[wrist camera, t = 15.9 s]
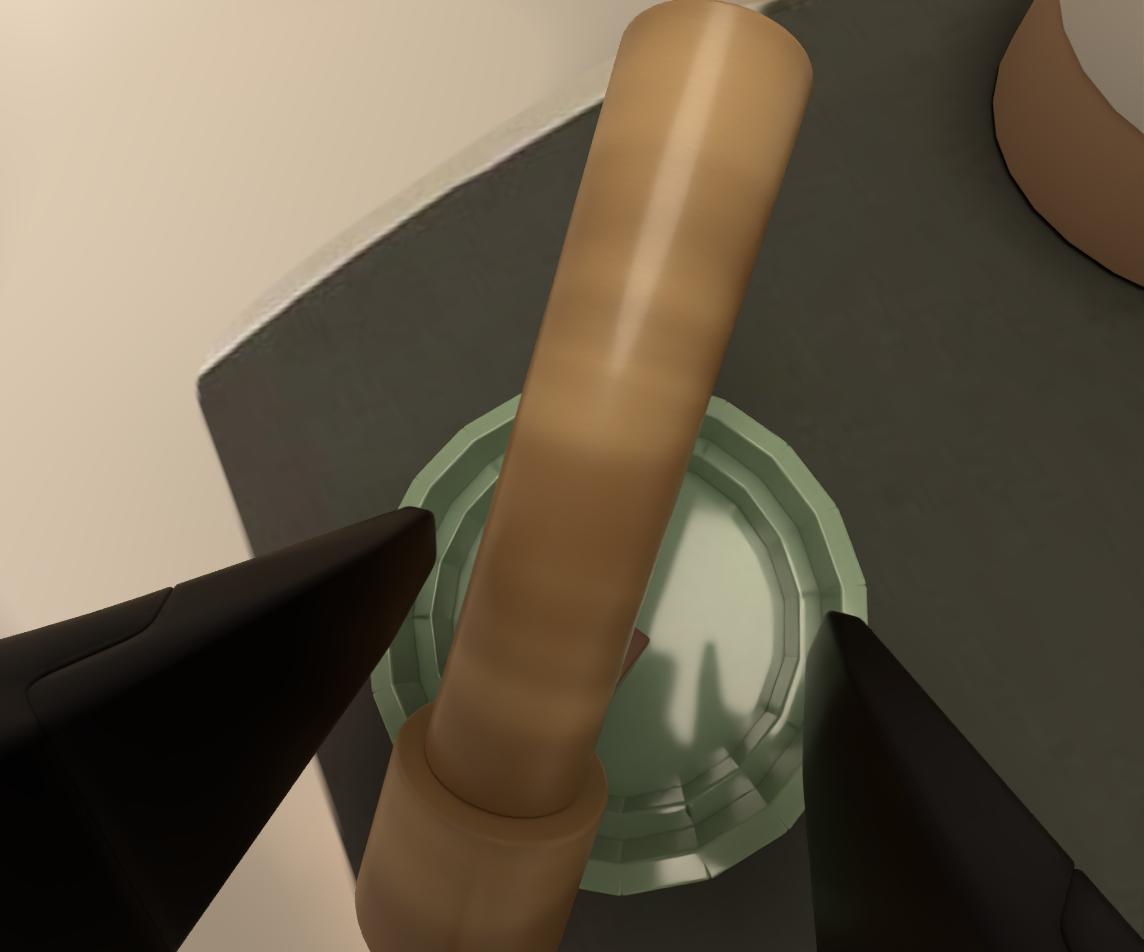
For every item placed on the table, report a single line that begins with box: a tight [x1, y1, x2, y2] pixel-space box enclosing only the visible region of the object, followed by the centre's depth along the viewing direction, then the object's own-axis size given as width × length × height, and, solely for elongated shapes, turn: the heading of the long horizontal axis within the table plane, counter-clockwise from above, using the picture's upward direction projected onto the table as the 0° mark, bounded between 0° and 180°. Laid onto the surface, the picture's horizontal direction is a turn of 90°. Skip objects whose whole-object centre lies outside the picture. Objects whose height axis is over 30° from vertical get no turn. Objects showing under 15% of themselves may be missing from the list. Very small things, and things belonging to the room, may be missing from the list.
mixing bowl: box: [371, 394, 868, 896], centre depth 16 cm, size 12×12×4 cm
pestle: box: [355, 0, 813, 952], centre depth 10 cm, size 4×4×15 cm
